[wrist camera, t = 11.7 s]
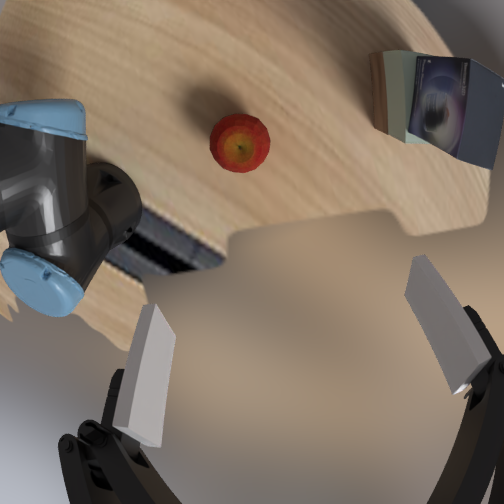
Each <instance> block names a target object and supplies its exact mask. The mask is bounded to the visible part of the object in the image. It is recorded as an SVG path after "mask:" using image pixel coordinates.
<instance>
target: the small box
mask: <svg viewBox="0 0 504 504" xmlns="http://www.w3.org/2000/svg"><path fill="white" fill-rule="evenodd" d="M503 117H504V79H503V78H502V77H500V76H499V75H497V74H496V73H495V72H493V71H491V70H490V69H488V68H486V67H484V66H483V65H481V64H480V63H478V62H476V61H475V60H473V59H467V58H457V57H439V56H417V58H416V72H415V83H414V92H413V100H412V108H411V114H410V121H409V127H408V133H410V134H413V135H415V136H417V137H419V138H421V139H423V140H425V141H426V142H428V143H430V144H432V145H434V146H436V147H438V148H439V149H441V150H443V151H445V152H446V153H448V154H450V155H452V156H453V157H455V158H456V159H458V160H461V161H464V162H467V163H470V164H473V165H477V166H480V167H483V168H486V169H489V170H493V166H494V162H495V157H496V154H497V149H498V145H499V139H500V135H501V129H502V123H503Z"/></svg>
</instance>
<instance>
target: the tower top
mask: <svg viewBox="0 0 504 504" xmlns="http://www.w3.org/2000/svg"><path fill="white" fill-rule="evenodd" d="M417 56H432V55H428V54H423V53H417V52H412V51H405V50H393V51H383V58H384V67H385V77H386V90H387V108H388V134H389V135H391V136H393V137H394V138H396V139H398V140H400V141H402V142H404V143H419V144H430V143H428V142H426V141H425V140H423V139H421V138H419V137H417V136H415V135H413V134H410V133H408V127H409V121H410V114H411V108H412V100H413V92H414V83H415V72H416V58H417Z"/></svg>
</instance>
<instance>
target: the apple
mask: <svg viewBox="0 0 504 504" xmlns="http://www.w3.org/2000/svg"><path fill="white" fill-rule="evenodd" d="M269 148H270V137H269V134H268V131H267V128H266V127H265V126H264V124H263V123H262V122H261V121H260V120H259V119H258V118H256V117H253V116H250V115H247V114H233V115H230V116H227V117H224V118H223V119H221V120H220V121H219V122H218V123H217V124H216V125H215V126H214V129H213V131H212V133H211V136H210V151H211V153H212V155H213V157H214V159H215V160H216V162H217V163H218V164H219V165H220V166H221V167H222V168H223V169H226V170H229V171H232V172H239V173H246V172H249V171H252V170H255V169H256V168H257V167H258V166H259V165H260V164H262V163H263V162H264V160H265V158H266V156H267V155H268V153H269Z"/></svg>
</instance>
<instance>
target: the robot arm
mask: <svg viewBox="0 0 504 504" xmlns="http://www.w3.org/2000/svg"><path fill="white" fill-rule="evenodd" d="M86 140H88V137H87V135H86V113H85V108H84V106H83V104H82V103H81V102H79V101H77V100H74V99H41V100H27V101H18V102H11V103H5V104H0V232H1V231H3V230H5V231H6V234H7V238H8V241H9V248H8V249H6V250H5V251H4V252H3V255H2V257H1V261H0V270H1V273H2V276H3V278H4V280H5V282H6V283H7V285H8V286H9V288H10V289H11V290H12V291H13V292H14V294H15V295H16V296H17V297H18V298H20V299H21V300H22V301H23V302H24V303H26V304H27V305H28V306H30V307H31V308H33V309H35V310H36V311H38V312H41V313H43V314H45V315H48V316H53V317H62V316H66V315H68V314H69V313H71V312H72V311H73V310H74V308H75V307H76V306H77V304H78V303H79V301H80V300H81V299H82V298H83V296H84V292H85V290H86V289H87V287H88V285H89V283H90V282H91V280H92V278H93V276H94V275H95V273H96V271H97V270H98V268H99V266H100V265H101V263H102V262H103V260H104V258H105V257H106V255H107V253H108V252H109V251H110V250H111V249H113V248H115V247H116V246H118V245H119V244H121V243H123V242H124V241H126V240H127V239H128V238H129V237H130V236H131V235H132V234H133V232H134V231H135V229H136V227H137V226H138V224H139V222H140V219H141V214H142V203H141V198H140V194H139V192H138V190H137V188H136V186H135V184H134V182H133V181H132V180H131V179H130V177H129V176H128V175H127V174H126V173H125V172H123V171H122V170H121V169H119V168H117V167H115V166H113V165H111V164H107V163H92V164H89V165H86ZM405 297H406V299H407V301H408V303H409V304H410V306H411V308H412V310H413V312H414V314H415V315H416V317H417V319H418V321H419V323H420V325H421V327H422V329H423V331H424V333H425V335H426V336H427V339H428V341H429V343H430V345H431V347H432V349H433V351H434V353H435V355H436V358H437V360H438V362H439V364H440V366H441V368H442V371H443V373H444V375H445V378H446V379H447V382H448V385H449V387H450V389H451V392H452V394H453V395H454V394H456V393H458V392H460V391H462V390H464V389H465V388H466V387H467V386H468V385H469V384H470V383H471V385H472V388H471V389H470V390H469V391H468V392H467V393H466V395H465V396H464V399H466V398H467V396H469V398H468V402H467V406H466V409H465V413H464V416H463V419H462V422H461V426H460V429H459V432H458V435H457V438H456V440H455V443H454V446H453V448H452V451H451V454H450V456H449V459H448V461H447V463H446V465H445V468H444V470H443V472H442V474H441V477H440V479H439V481H438V483H437V485H436V487H435V489H434V491H433V493H432V495H431V496H430V498H429V501H428V502H427V504H481V501H482V499H483V497H484V495H485V492H486V490H487V488H488V485H489V483H490V480H491V477H492V475H493V472H494V469H495V466H496V469H495V475H494V480H493V485H492V490H491V494H490V498H489V502H488V504H504V355H503V354H502V353H501V352H500V350H499V349H498V347H497V345H496V343H495V341H494V340H493V338H492V336H491V335H490V333H489V331H488V329H487V328H486V326H485V324H484V323H483V322H482V320H481V318H480V316H479V315H478V313H477V312H476V311H475V310H474V309H473V308H471V307H470V306H469V305H468V306H465V307H462V306H461V304H460V303H459V301H458V300H457V298H456V297H455V295H454V294H453V292H452V291H451V290H450V288H449V287H448V285H447V284H446V282H445V281H444V280H443V278H442V277H441V275H440V274H439V272H438V271H437V270H436V268H435V267H434V266H433V264H432V263H431V262H430V260H429V259H428V258H427V257H426V255H420V256H416V257H413V260H412V265H411V269H410V274H409V278H408V283H407V287H406V291H405ZM175 339H176V336H175V334H174V332H173V331H172V329H171V328H170V326H169V325H168V323H167V321H166V320H165V318H164V316H163V315H162V313H161V311H160V310H159V308H158V306H157V304H156V303H155V304H147V305H143V307H142V310H141V313H140V316H139V320H138V323H137V326H136V330H135V333H134V337H133V340H132V344H131V347H130V351H129V355H128V359H127V363H126V366H125V369H117V370H116V372H115V373H114V375H113V377H112V379H111V383H110V387H109V388H110V389H109V391H108V397H107V399H106V403H105V407H104V412H103V417H102V421H101V424H99V423H97V422H96V421H94V420H86V421H84V422H83V423H82V424H81V425H80V427H79V429H78V437H75V436H73V435H71V434H65V435H63V436H62V437H61V438H60V440H59V443H58V450H59V457H60V462H61V468H62V473H63V477H64V482H65V486H66V490H67V494H68V498H69V501H70V504H182V503H181V502H180V501H179V500H178V498H177V497H176V496H175V495H174V493H173V492H172V491H171V490H170V489H169V487H168V486H167V485H166V483H165V482H164V481H163V479H162V478H161V477H160V475H159V474H158V472H157V471H156V470H155V468H154V467H153V465H152V464H151V463H150V461H149V460H148V458H147V457H146V455H145V454H144V452H143V451H142V450H141V448H140V443H142V444H144V445H146V446H152V447H161V441H162V432H163V422H164V414H165V406H166V398H167V391H168V383H169V377H170V370H171V363H172V357H173V351H174V345H175Z"/></svg>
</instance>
